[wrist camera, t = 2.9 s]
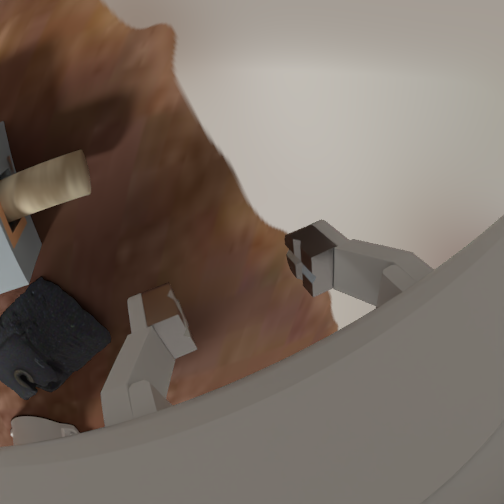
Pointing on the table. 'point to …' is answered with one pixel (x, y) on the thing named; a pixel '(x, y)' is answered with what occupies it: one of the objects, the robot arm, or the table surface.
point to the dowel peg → (45, 185)
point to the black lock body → (46, 339)
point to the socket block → (15, 234)
